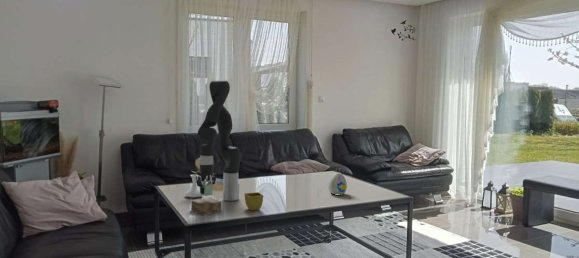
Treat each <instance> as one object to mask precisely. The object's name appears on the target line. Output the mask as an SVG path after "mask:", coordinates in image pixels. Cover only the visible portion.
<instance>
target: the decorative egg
mask: <svg viewBox="0 0 579 258" xmlns="http://www.w3.org/2000/svg"><path fill="white" fill-rule="evenodd" d="M347 188H348V184H347V178H346V177H345V175H344V174H342V173H341V172H335V173H333V174H332V176H331V177H330V179H329V181H328V190H329V191H328V192H329V193H330V194H331V193H332V194H344V195H345V193H346V192H347ZM332 194H331V195H332Z"/></svg>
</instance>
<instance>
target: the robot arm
mask: <svg viewBox="0 0 579 258" xmlns="http://www.w3.org/2000/svg"><path fill="white" fill-rule="evenodd" d="M230 87H231V86H230V83H229V81H228V80H223V79H222V80H220V79H219V80H212V81H210V83H209V94H210V97H211V101H212V104H211V106H210V107H208V109H207V112H206V114H205V118H204V120H203V122H202V123H201V125H200V126H199V128H198V130H197V134H196V135H197V138H198V139H199V141H200V140H201V141H208V142H207V143H206V144H205V143H204V144H201V145H200V156H199V158H200V172H201V173H199V176H196V186H197V187H198V188H199V189H200V193H201V194H204V185H205V184H206V183H210V184H213V185H215V184H216V180H217V173H213V172H214V148H215V147H214V146H215V143H216V139H217V136H218V138H219V147H220V149H219V150H220V156H221V159H222V160H224V161H225V162H229V165H228V166H225V167H224V168H223V184H222V185H223V187H222V188H223V191H222V200H224V201H227V202H234V201H237V200H239V199H240V183H239V170H240V166H241V165H240V164H241V150H240V148H239V147H238V146H237V147H236V146H231V145H230V135H231V133H232V130H233V126H234V125H233V119H232V115H231V113H230V111H228V110H227V108H226V107H225V105H224V104H225V103H226V100H227V98H228V96H229V93H230V89H231V88H230ZM214 127H217V130H218V132H217V130H216V128H214ZM202 184H203V185H202Z"/></svg>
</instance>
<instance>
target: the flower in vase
mask: <svg viewBox="0 0 579 258" xmlns="http://www.w3.org/2000/svg"><path fill="white" fill-rule="evenodd" d="M194 164H195V167H196V168H197V171H194V170H190V171H191V173H194V174H190V177H191V179H192V186H191V187H190V189H188V190H187V191H186V192H185V193H184V194H185V196H186V197H188V198H201V197H202V196H203V195H200V188H199V187H198V186H197V182H196V176H200V173H201V172H200V157H198V158H197V159H195V162H194ZM198 173H199V174H198Z"/></svg>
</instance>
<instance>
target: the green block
mask: <svg viewBox="0 0 579 258" xmlns="http://www.w3.org/2000/svg"><path fill="white" fill-rule="evenodd" d="M202 185H203V184H202ZM213 185H214V184H210V183H208V182H206V184H205V185H204V194H201V193H200V195H202V196H204V197H208V196H209V197H210V196H212V195H213V191H214V190H213V189H214V187H213Z"/></svg>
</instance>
